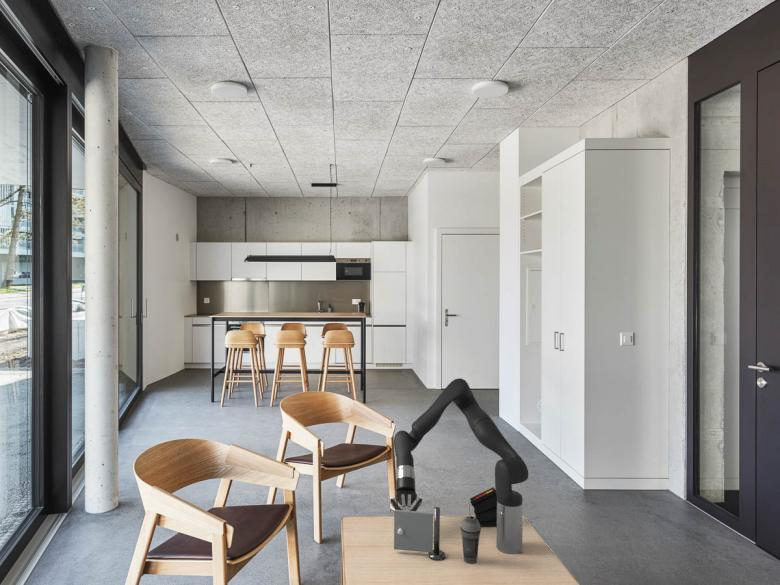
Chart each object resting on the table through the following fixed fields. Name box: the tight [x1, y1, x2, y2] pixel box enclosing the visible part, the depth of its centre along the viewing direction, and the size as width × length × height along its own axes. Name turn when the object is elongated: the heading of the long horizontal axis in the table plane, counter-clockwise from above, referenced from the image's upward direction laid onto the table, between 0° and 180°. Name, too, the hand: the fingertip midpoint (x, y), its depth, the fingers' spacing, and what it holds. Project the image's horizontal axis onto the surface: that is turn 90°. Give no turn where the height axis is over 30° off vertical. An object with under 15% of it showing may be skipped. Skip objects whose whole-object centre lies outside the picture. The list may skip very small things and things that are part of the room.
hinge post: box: [427, 506, 446, 562], centre depth 201 cm, size 6×6×18 cm
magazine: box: [469, 486, 497, 528], centre depth 227 cm, size 4×13×15 cm, turn 93°
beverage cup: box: [459, 502, 482, 565], centre depth 198 cm, size 7×7×20 cm
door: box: [393, 509, 434, 553], centre depth 202 cm, size 14×2×14 cm, turn 81°
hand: (406, 524), depth 210 cm, fingers closed
